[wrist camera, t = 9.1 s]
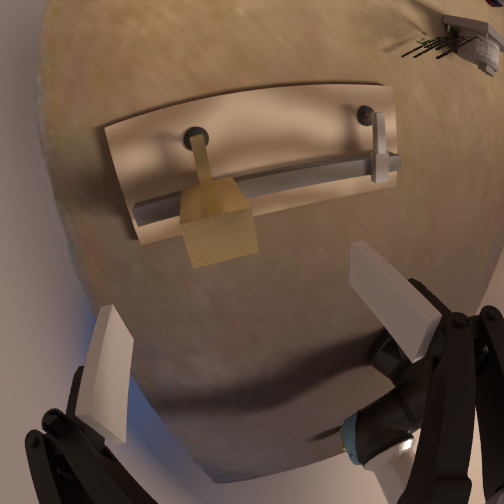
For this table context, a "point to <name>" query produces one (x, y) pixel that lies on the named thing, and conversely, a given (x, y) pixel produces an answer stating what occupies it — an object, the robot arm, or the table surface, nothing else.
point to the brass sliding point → (215, 215)
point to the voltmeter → (471, 43)
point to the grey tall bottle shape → (496, 3)
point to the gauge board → (258, 149)
